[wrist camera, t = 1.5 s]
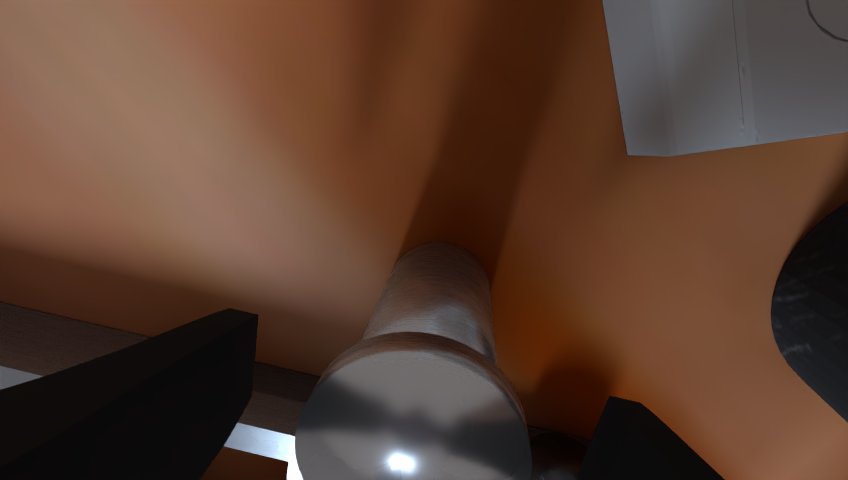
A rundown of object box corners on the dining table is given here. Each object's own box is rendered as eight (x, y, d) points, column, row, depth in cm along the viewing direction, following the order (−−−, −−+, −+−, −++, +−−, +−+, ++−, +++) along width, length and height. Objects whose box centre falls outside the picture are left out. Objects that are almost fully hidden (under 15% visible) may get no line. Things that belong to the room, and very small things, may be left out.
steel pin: (485, 356, 15) (498, 571, 8) (368, 329, 15) (284, 519, 8) (517, 244, 13) (563, 391, 7) (388, 216, 13) (308, 332, 7)
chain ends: (548, 594, 18) (566, 705, 14) (-60, 444, 18) (-172, 517, 15) (614, 438, 15) (654, 531, 12) (-96, 272, 16) (-240, 317, 13)
